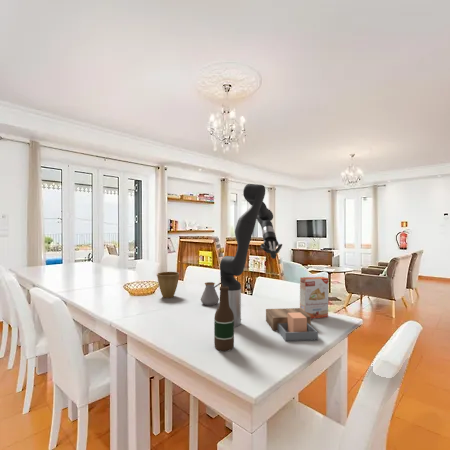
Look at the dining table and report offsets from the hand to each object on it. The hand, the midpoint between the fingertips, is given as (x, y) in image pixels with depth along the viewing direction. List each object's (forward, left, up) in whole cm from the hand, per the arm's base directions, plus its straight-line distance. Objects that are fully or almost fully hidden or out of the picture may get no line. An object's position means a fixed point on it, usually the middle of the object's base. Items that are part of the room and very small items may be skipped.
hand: (274, 257), depth 158 cm
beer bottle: (-31, -42, -31) cm, 61 cm away
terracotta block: (+2, -28, -26) cm, 38 cm away
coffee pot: (-30, +25, -31) cm, 50 cm away
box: (+2, -32, -31) cm, 45 cm away
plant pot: (-62, +43, -31) cm, 82 cm away
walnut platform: (+2, -19, -31) cm, 36 cm away
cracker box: (+20, -8, -31) cm, 38 cm away
